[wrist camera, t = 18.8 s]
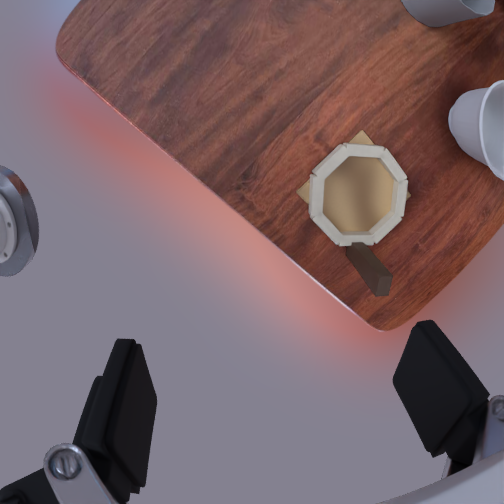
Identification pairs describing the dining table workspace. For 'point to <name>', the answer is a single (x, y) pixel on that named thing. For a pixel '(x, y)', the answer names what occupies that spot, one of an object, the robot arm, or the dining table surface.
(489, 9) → the cup
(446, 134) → the dining table surface
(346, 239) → the ring
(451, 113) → the teacup
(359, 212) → the cork pad
